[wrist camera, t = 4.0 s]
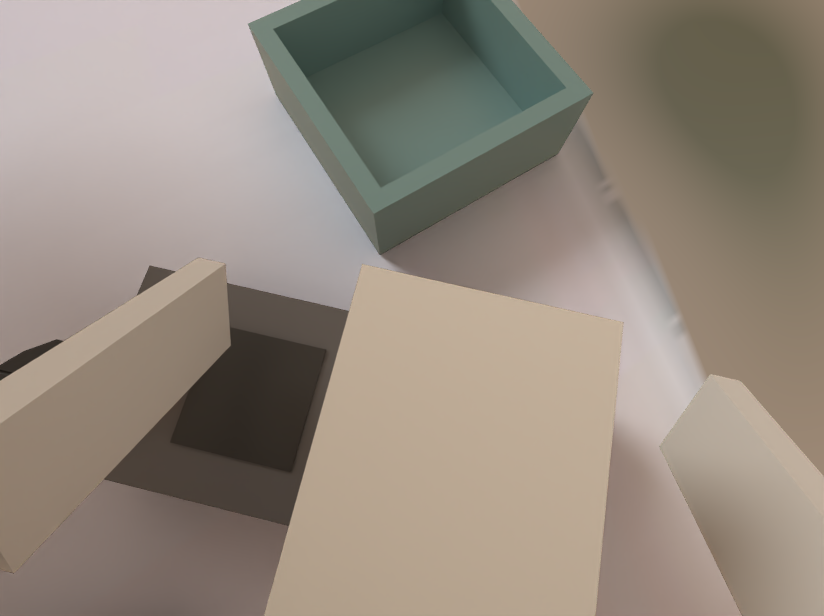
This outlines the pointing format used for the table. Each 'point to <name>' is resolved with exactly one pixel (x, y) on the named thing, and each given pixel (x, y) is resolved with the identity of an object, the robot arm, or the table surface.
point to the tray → (418, 101)
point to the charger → (455, 459)
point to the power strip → (244, 410)
